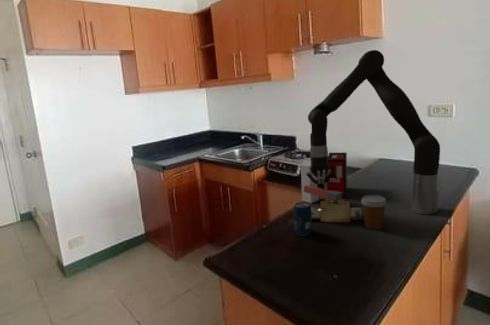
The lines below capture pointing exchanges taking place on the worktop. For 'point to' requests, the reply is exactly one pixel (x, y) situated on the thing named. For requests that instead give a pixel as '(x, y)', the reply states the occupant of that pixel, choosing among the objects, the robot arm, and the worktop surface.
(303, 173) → the milk
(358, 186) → the worktop surface
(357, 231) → the worktop surface
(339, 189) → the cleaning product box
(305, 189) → the lever
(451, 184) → the worktop surface
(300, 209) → the soda can
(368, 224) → the disposable coffee cup
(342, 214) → the pipe valve
